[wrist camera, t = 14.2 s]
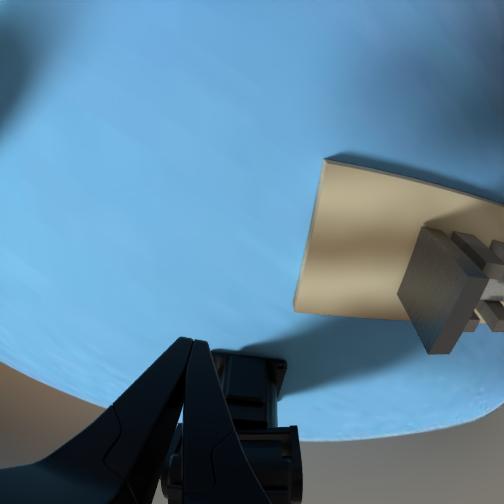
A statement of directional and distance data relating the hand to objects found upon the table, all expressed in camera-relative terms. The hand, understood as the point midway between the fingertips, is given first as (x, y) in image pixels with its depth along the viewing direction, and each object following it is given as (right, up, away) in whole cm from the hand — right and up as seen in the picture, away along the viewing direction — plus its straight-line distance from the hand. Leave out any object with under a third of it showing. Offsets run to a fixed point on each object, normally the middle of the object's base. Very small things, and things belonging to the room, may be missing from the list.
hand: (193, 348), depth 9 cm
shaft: (+18, +1, +10) cm, 21 cm away
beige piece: (+15, +3, +11) cm, 19 cm away
